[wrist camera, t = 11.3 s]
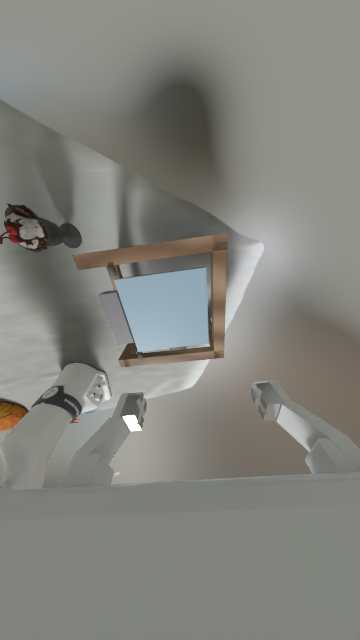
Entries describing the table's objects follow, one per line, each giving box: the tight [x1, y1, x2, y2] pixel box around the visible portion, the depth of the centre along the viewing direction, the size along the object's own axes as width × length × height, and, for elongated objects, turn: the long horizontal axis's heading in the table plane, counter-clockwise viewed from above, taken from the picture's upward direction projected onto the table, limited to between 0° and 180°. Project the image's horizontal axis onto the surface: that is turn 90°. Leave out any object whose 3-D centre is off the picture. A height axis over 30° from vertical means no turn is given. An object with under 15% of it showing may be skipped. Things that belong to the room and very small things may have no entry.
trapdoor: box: [98, 267, 209, 352], centre depth 24 cm, size 14×18×2 cm
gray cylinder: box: [170, 346, 186, 351], centre depth 43 cm, size 5×5×5 cm
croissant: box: [0, 402, 28, 431], centre depth 61 cm, size 14×16×8 cm
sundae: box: [0, 204, 81, 252], centre depth 25 cm, size 7×7×15 cm
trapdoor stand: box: [72, 233, 228, 367], centre depth 30 cm, size 22×22×16 cm
